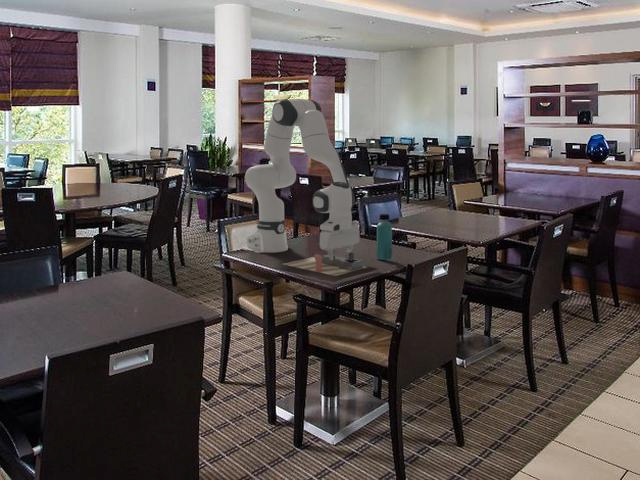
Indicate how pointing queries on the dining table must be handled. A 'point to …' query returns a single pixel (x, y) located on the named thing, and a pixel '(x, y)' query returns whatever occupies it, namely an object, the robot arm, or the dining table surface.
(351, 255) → the pintle
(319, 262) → the keeper
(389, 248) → the beverage bottle
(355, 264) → the link
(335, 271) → the base board
